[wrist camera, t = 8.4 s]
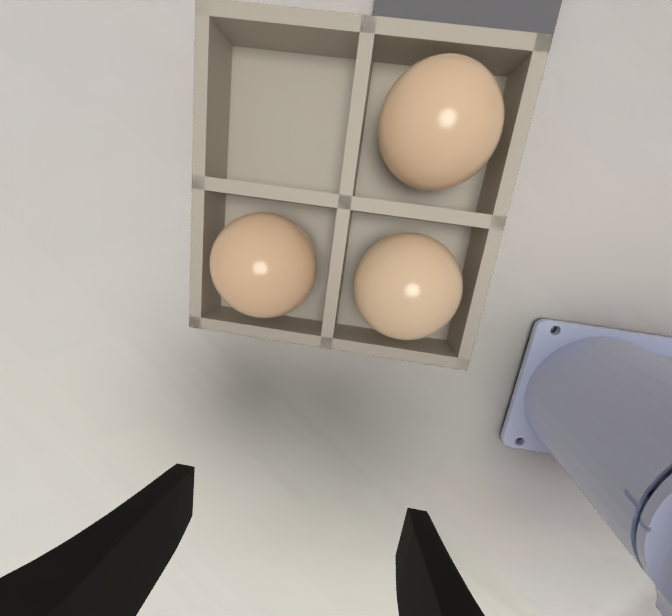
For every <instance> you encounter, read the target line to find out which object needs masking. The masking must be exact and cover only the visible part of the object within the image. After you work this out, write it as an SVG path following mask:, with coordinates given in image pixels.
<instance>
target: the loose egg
mask: <svg viewBox="0 0 672 616" xmlns="http://www.w3.org/2000/svg"><path fill="white" fill-rule="evenodd" d="M504 114H505V110H504V101H503V96H502V92H501V90H500V87H499V85H498V83H497V81H496V79H495V78H494V76H493V75H492V73H491V72H490V71H489V70H488V69H487V68H486V67H485V66H484V65H483V64H481V63H480V62H479V61H477V60H475V59H473V58H471V57H468V56H466V55H462V54H457V53H444V54H437V55H434V56H430V57H428V58H425V59H423V60H421V61H419V62H417V63H415V64H414V65H412V66H411V67H410V68H408V69H407V70H406V71H405V72H404V73H403V74H402V75H401V76H400V77H399V78H398V79H397V80H396V81H395V83H394V84H393V85H392V87H391V88H390V90H389V92H388V93H387V95H386V97H385V100H384V102H383V104H382V107H381V110H380V114H379V119H378V143H379V148H380V152H381V155H382V157H383V160H384V162H385V164H386V165H387V167H388V169H389V170H390V171H391V172H392V174H393V175H394V176H395V177H396V178H398V179H399V180H400V181H401V182H403V183H404V184H406V185H408V186H410V187H413V188H415V189H419V190H424V191H441V190H446V189H450V188H453V187H456V186H458V185H460V184H462V183H464V182H465V181H467V180H468V179H470V178H471V177H473V176H474V175H475V174H476V173H478V172H479V171H480V170H481V169H482V168H483V167H484V165H485V164H486V163H487V161H488V160H489V159H490V157H491V156H492V154H493V153H494V151H495V149H496V147H497V145H498V142H499V140H500V137H501V134H502V130H503V124H504Z"/></svg>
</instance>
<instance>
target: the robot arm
mask: <svg viewBox="0 0 672 616" xmlns="http://www.w3.org/2000/svg"><path fill="white" fill-rule="evenodd" d="M554 326H557V329H556V331H555V332H553V333H551V332H550V330H551V328H552V327H554ZM500 438H501V440H502V442H503V444H504V445H505V446H508V447H513V448H519V449H525V450H531V451H537V452H542V453H548V454H552V455H553V456H554V457H555V458H556V460H557V461H558V462H559V463H560V465H561V466H562V467H563V469H564V470H565V471H566V472H567V474H568V475H569V476H570V477H571V479H572V480H573V481H574V483H575V484H576V485H577V486H578V488H579V489H580V490H581V491H582V493H583V494H584V495H585V497H586V498H587V499H588V500H589V502H590V503H591V504H592V505H593V507H594V508H595V509H596V511H597V512H598V513H599V514H600V516H601V517H602V518H603V519H604V521H605V522H606V523H607V525H608V526H609V527H610V528H611V530H612V531H613V532H614V533H615V535H616V536H617V537H618V539H619V540H620V541H621V542H622V544H623V545H624V546H625V547H626V549H627V550H628V551H629V553H630V554H631V555H632V556H633V558H634V559H635V560H636V561H637V563H638V564H639V565H640V567H641V568H642V569H643V570H644V571H645V572H646V574H647V575H648V576H649V578H650V579H651V581H652V582H653V584H654V585H655V588H656V591H657V601H656V607H657V609H658V610H659V611H660V613H661V614H662V615H663V616H672V337H667V336H660V335H654V334H647V333H640V332H633V331H627V330H620V329H613V328H606V327H600V326H593V325H586V324H579V323H573V322H566V321H559V320H552V319H546V318H545V319H540V320H538V321H536V322H535V324H534V326H533V329H532V333H531V336H530V339H529V343H528V346H527V349H526V353H525V356H524V359H523V363H522V366H521V369H520V372H519V376H518V379H517V382H516V386H515V389H514V392H513V396H512V399H511V402H510V406H509V409H508V412H507V416H506V419H505V422H504V426H503V429H502V432H501V437H500ZM518 438H521V440H520V441H516V439H518ZM193 489H194V467H192V466H187V465H182V464H176V465H174V466H173V467H171V468H170V469H169V470H167V471H166V472H165V473H163V474H162V475H161V476H159V477H158V478H157V479H155V480H154V481H153V482H151V483H150V484H149V485H147V486H146V487H145V488H143V489H142V490H141V491H139V492H138V493H137V494H135V495H134V496H132V497H131V498H130V499H128V500H127V501H125V502H124V503H123V504H121V505H120V506H118V507H117V508H116V509H114V510H113V511H111V512H110V513H109V514H107V515H106V516H104V517H103V518H101V519H100V520H98V521H97V522H95V523H94V524H92V525H91V526H89V527H87V528H86V529H84V530H83V531H81V532H80V533H78V534H77V535H75V536H74V537H72V538H70V539H69V540H67V541H66V542H64V543H62V544H61V545H59V546H57V547H56V548H54V549H52V550H51V551H49V552H47V553H45V554H44V555H42V556H40V557H39V558H37V559H35V560H33V561H31V562H30V563H28V564H26V565H24V566H22V567H20V568H18V569H16V570H15V571H13V572H11V573H9V574H7V575H5V576H3V577H1V578H0V616H136V615H137V613H138V612H139V610H140V608H141V607H142V605H143V603H144V602H145V600H146V598H147V597H148V595H149V594H150V592H151V590H152V589H153V587H154V585H155V584H156V582H157V580H158V579H159V577H160V575H161V574H162V572H163V570H164V569H165V567H166V566H167V564H168V562H169V561H170V559H171V557H172V556H173V554H174V552H175V550H176V549H177V547H178V545H179V543H180V541H181V538H182V536H183V534H184V532H185V530H186V528H187V526H188V524H189V522H190V519H191V517H192V511H193ZM396 591H397V602H398V610H399V616H485V615H484V614H483V612H482V611H481V609H480V607H479V606H478V604H477V603H476V601H475V599H474V598H473V596H472V594H471V593H470V591H469V589H468V588H467V586H466V584H465V582H464V581H463V579H462V577H461V575H460V574H459V572H458V570H457V568H456V567H455V565H454V563H453V561H452V559H451V557H450V556H449V554H448V552H447V550H446V548H445V546H444V544H443V542H442V540H441V538H440V536H439V534H438V532H437V530H436V528H435V526H434V524H433V522H432V520H431V518H430V516H429V514H428V513H427V511H422V510H417V509H411V508H408V509H407V513H406V517H405V521H404V525H403V529H402V532H401V536H400V540H399V544H398V548H397V552H396Z"/></svg>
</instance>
